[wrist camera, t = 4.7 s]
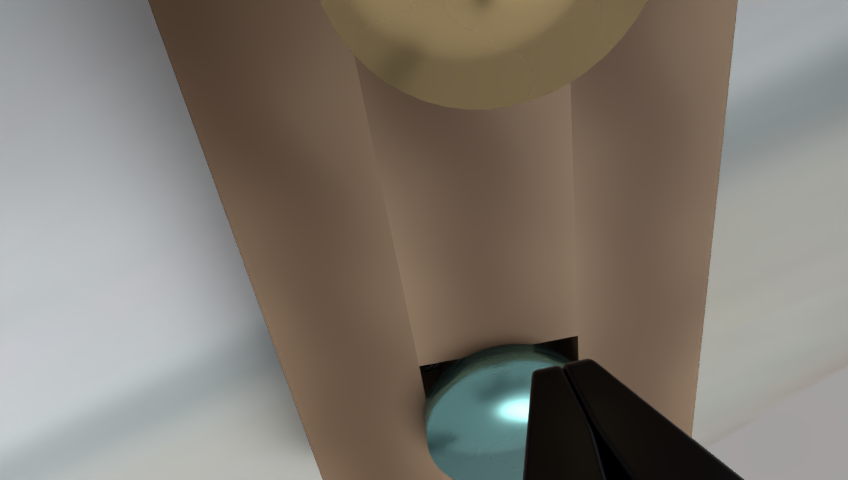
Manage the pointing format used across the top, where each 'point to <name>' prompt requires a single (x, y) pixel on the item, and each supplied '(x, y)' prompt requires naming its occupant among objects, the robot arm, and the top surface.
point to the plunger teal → (484, 411)
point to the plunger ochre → (480, 44)
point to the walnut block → (457, 214)
